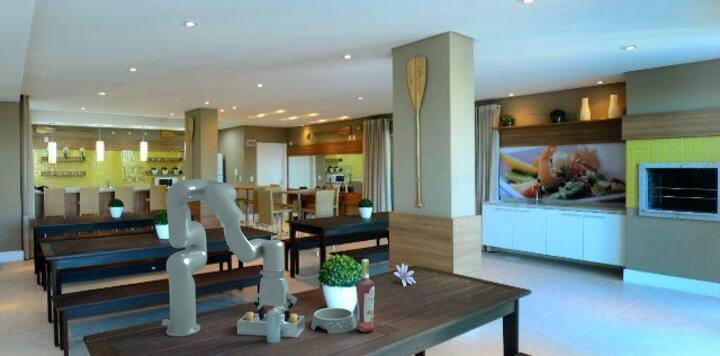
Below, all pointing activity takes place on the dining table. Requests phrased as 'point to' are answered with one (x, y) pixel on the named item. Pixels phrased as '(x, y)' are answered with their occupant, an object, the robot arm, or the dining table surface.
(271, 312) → the cylinder
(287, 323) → the housing
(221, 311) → the dining table surface
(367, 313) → the liquor
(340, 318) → the dog bowl
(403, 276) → the water lily
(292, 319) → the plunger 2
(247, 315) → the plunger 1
